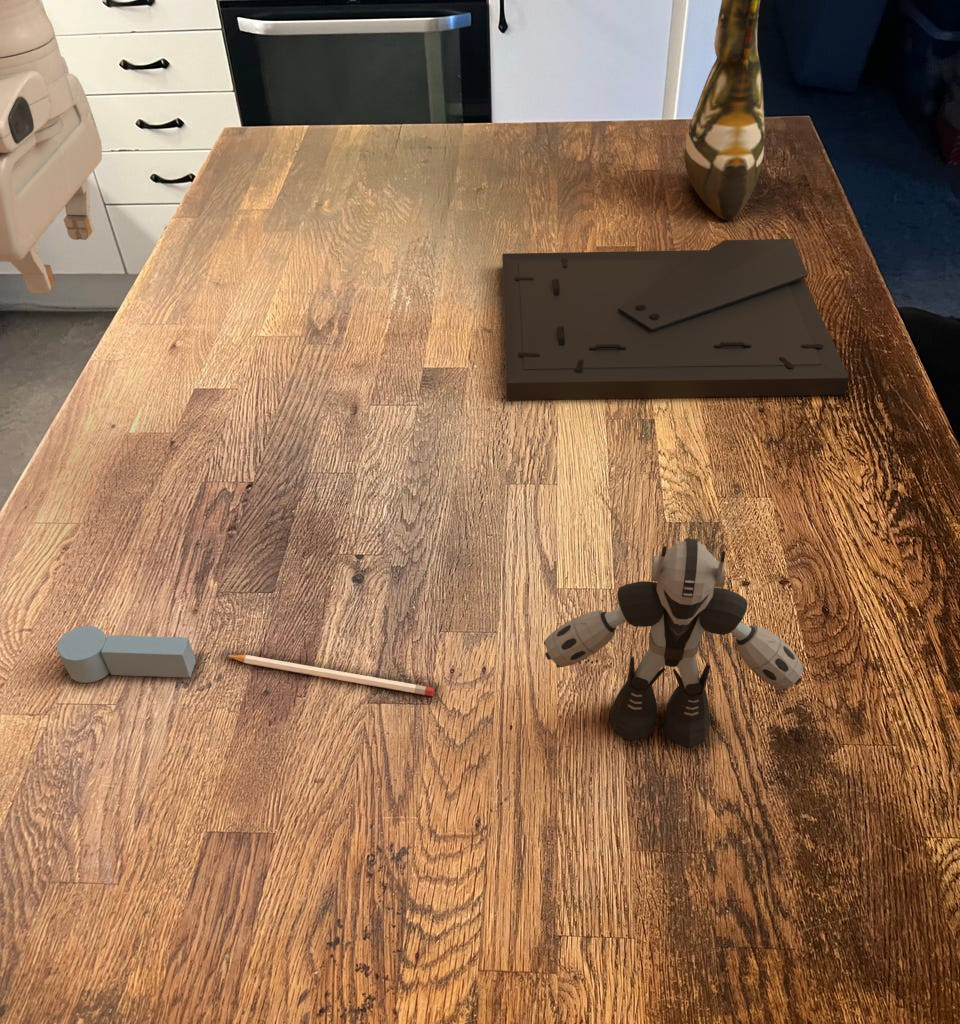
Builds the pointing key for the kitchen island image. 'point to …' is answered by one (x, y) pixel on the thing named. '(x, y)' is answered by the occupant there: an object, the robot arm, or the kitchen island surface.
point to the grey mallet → (123, 655)
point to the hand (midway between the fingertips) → (63, 261)
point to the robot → (675, 642)
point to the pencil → (335, 674)
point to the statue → (729, 116)
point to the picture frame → (666, 325)
